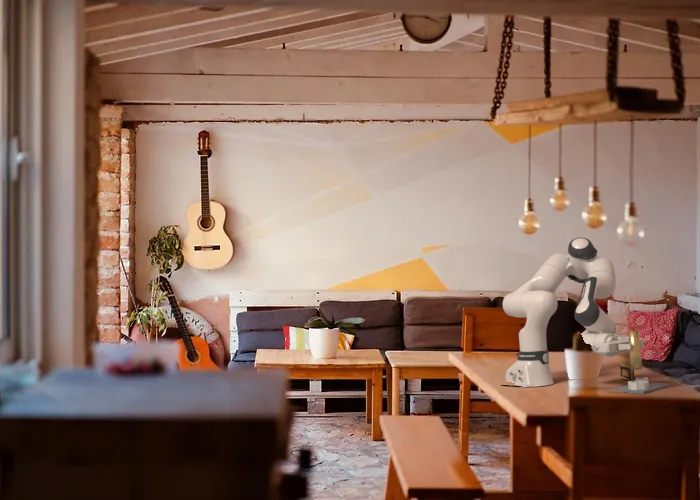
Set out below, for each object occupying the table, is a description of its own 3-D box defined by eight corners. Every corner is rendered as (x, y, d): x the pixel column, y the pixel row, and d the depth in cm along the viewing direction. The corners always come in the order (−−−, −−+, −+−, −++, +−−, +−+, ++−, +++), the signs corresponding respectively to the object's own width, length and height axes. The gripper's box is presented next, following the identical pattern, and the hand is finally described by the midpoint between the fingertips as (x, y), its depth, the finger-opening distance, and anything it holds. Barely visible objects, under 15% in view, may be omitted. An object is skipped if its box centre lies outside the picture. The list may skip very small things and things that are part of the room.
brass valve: (629, 369, 316) (625, 326, 317) (634, 368, 319) (630, 325, 319) (645, 370, 311) (641, 326, 312) (651, 368, 314) (647, 325, 314)
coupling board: (608, 392, 318) (607, 382, 318) (636, 385, 332) (635, 375, 332) (643, 394, 308) (642, 384, 308) (670, 386, 321) (669, 376, 322)
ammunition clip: (620, 378, 356) (618, 349, 356) (625, 377, 356) (622, 348, 357) (630, 380, 345) (627, 351, 346) (634, 380, 345) (632, 350, 346)
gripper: (587, 339, 322) (616, 340, 310) (625, 334, 333) (654, 334, 321) (589, 356, 322) (617, 357, 310) (627, 350, 332) (655, 351, 321)
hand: (636, 346), depth 316 cm, fingers closed on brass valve, 4 cm apart
